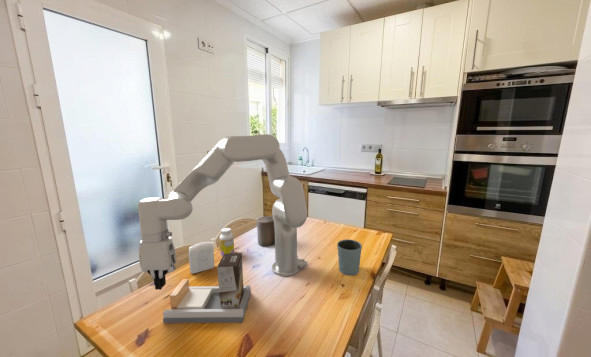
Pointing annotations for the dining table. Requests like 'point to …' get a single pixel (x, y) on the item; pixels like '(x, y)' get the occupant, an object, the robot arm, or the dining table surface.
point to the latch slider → (189, 297)
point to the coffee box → (230, 281)
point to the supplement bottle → (226, 241)
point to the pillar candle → (266, 231)
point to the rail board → (209, 310)
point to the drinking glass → (349, 256)
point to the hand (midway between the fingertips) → (160, 287)
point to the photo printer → (201, 257)
